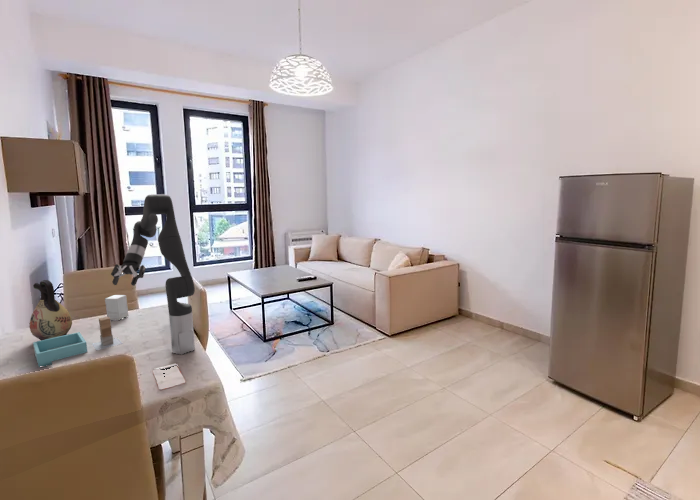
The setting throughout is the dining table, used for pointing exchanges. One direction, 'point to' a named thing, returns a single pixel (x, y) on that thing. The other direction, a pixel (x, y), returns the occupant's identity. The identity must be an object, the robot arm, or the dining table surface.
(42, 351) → the teal bin
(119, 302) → the supplement box
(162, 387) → the dining table surface
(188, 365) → the dining table surface
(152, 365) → the dining table surface
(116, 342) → the stud plate
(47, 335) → the ceramic jug
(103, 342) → the walnut strut
